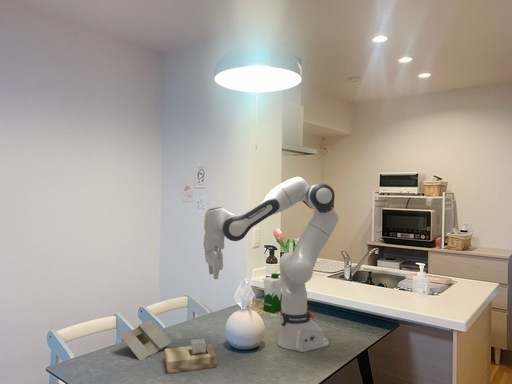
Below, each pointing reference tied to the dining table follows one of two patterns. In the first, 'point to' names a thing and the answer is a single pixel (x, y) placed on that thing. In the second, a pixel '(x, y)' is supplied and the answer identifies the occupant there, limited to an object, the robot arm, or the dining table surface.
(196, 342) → the metal bracket bar
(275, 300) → the milk carton
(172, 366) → the oak well block
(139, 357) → the beige slotted box
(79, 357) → the dining table surface
